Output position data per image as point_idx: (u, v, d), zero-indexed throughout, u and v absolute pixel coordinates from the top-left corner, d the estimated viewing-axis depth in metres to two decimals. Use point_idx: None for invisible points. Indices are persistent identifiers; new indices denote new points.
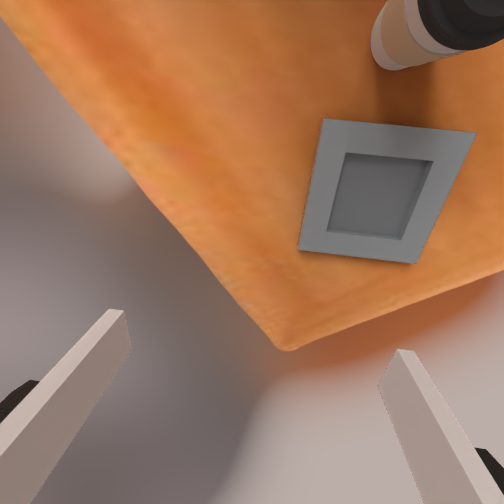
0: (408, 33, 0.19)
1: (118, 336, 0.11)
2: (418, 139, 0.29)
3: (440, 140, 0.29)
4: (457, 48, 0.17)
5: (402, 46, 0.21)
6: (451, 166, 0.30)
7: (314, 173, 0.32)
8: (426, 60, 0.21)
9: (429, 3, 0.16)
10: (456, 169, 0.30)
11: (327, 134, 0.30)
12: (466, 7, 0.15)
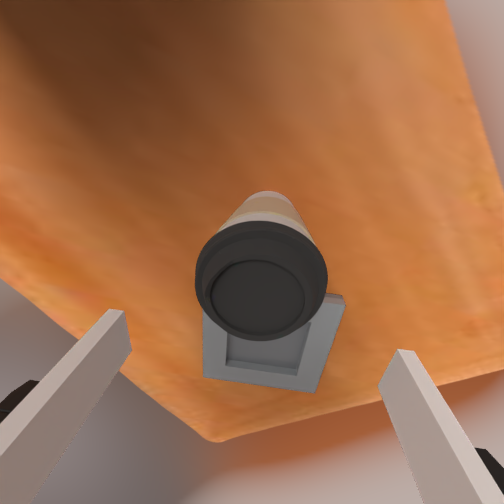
0: None
1: (118, 336, 0.11)
2: None
3: None
4: None
5: None
6: (328, 327, 0.31)
7: (203, 324, 0.33)
8: None
9: None
10: (333, 329, 0.31)
11: None
12: (229, 332, 0.16)
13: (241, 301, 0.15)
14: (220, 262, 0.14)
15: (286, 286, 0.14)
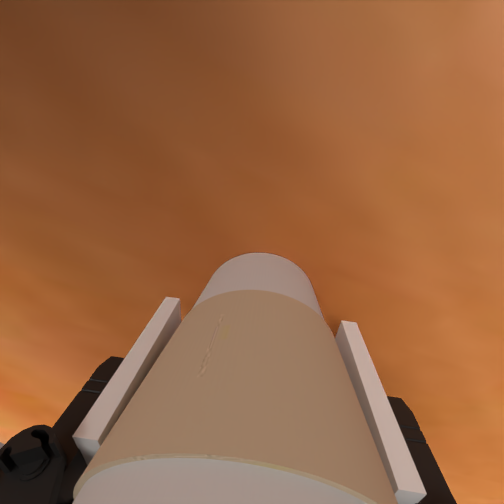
0: None
1: (175, 321, 0.12)
2: None
3: None
4: None
5: None
6: None
7: None
8: None
9: None
10: None
11: None
12: None
13: None
14: None
15: None
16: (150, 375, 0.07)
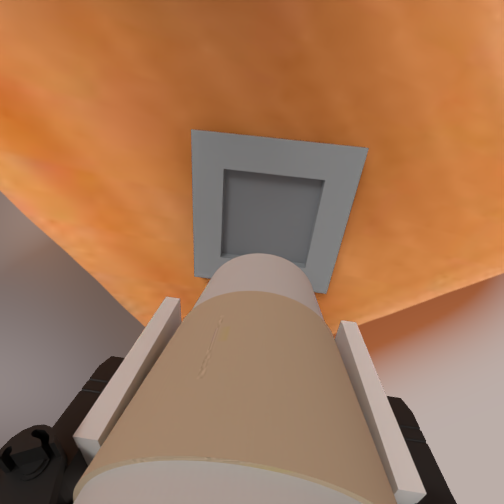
0: None
1: (175, 321, 0.12)
2: (303, 155, 0.25)
3: (328, 156, 0.24)
4: None
5: None
6: (346, 186, 0.26)
7: (193, 192, 0.27)
8: None
9: None
10: (352, 190, 0.26)
11: (198, 148, 0.25)
12: None
13: None
14: None
15: None
16: (150, 376, 0.07)
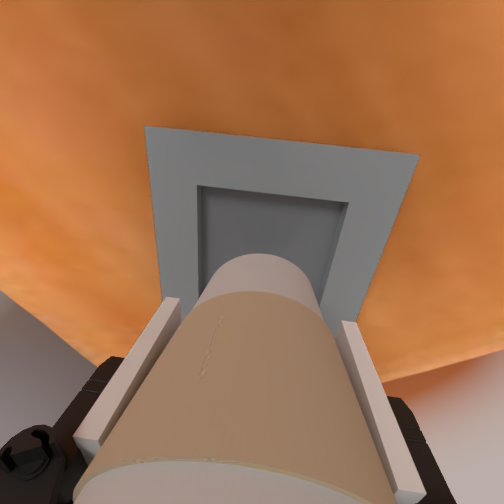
0: None
1: (175, 321, 0.12)
2: (316, 165, 0.16)
3: (356, 167, 0.16)
4: None
5: None
6: (380, 212, 0.17)
7: (155, 218, 0.19)
8: None
9: None
10: (390, 217, 0.17)
11: (158, 154, 0.17)
12: None
13: None
14: None
15: None
16: (150, 377, 0.07)
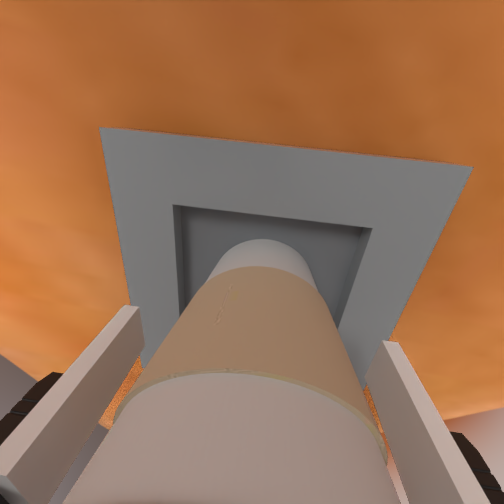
0: None
1: (133, 331, 0.12)
2: (331, 180, 0.12)
3: (383, 183, 0.12)
4: None
5: None
6: (414, 240, 0.13)
7: (122, 244, 0.15)
8: None
9: None
10: (426, 247, 0.13)
11: (120, 164, 0.13)
12: None
13: None
14: None
15: None
16: (172, 331, 0.09)
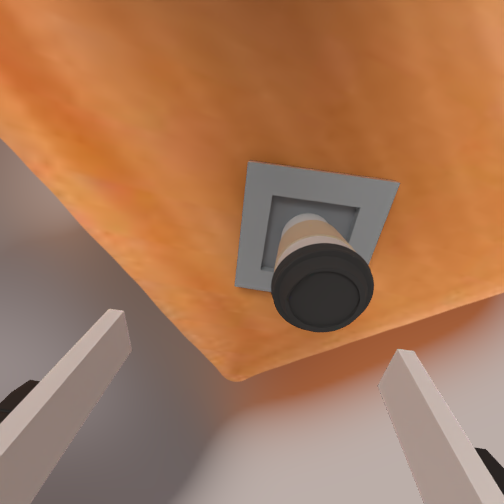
0: None
1: (118, 336, 0.11)
2: (343, 186, 0.29)
3: (365, 188, 0.29)
4: None
5: None
6: (378, 213, 0.30)
7: (243, 213, 0.31)
8: None
9: (277, 310, 0.22)
10: (383, 216, 0.30)
11: (252, 177, 0.29)
12: (297, 325, 0.22)
13: (310, 301, 0.21)
14: (301, 272, 0.19)
15: (346, 291, 0.20)
16: (289, 237, 0.25)
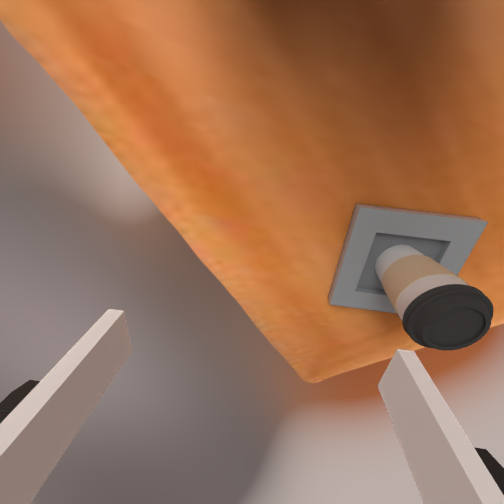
0: (398, 316, 0.32)
1: (118, 336, 0.11)
2: (438, 225, 0.35)
3: (457, 226, 0.34)
4: None
5: None
6: (465, 245, 0.36)
7: (348, 247, 0.38)
8: None
9: (409, 333, 0.29)
10: (470, 248, 0.36)
11: (361, 218, 0.35)
12: (428, 345, 0.28)
13: (443, 328, 0.27)
14: (442, 308, 0.25)
15: (474, 320, 0.26)
16: (405, 271, 0.31)
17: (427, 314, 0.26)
